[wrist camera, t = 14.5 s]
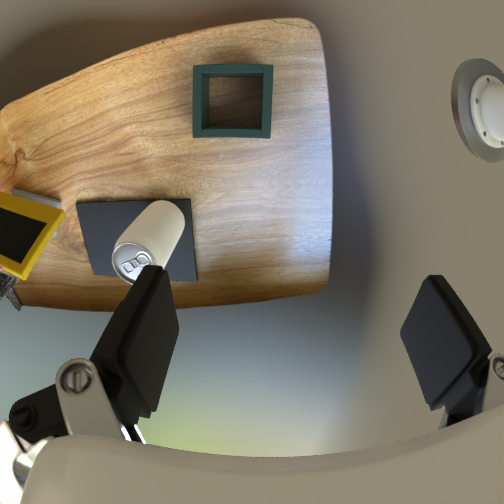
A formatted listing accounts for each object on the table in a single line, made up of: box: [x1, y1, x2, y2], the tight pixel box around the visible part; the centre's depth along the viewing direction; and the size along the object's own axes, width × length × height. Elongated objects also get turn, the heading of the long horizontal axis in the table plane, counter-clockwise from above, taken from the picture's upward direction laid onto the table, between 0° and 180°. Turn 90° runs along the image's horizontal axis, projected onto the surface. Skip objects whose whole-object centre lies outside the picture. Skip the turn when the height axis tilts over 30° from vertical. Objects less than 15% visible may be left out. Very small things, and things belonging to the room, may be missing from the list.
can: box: [112, 200, 185, 284], centre depth 33 cm, size 6×6×12 cm
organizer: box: [193, 64, 273, 139], centre depth 28 cm, size 9×9×5 cm
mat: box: [76, 199, 197, 282], centre depth 40 cm, size 20×14×1 cm
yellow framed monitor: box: [0, 188, 65, 280], centre depth 30 cm, size 20×8×16 cm, turn 73°
